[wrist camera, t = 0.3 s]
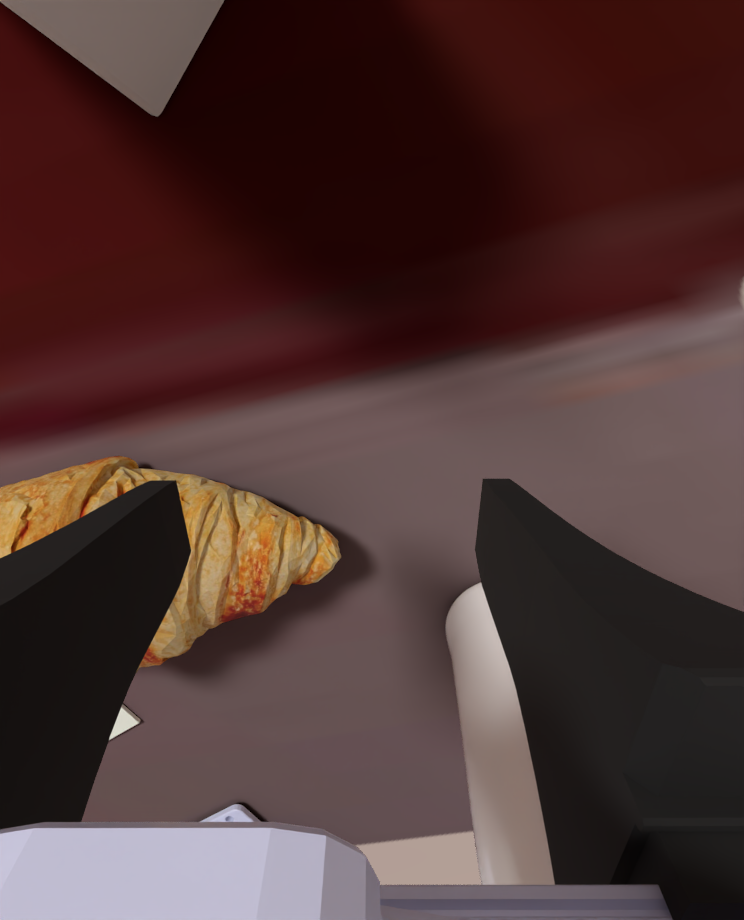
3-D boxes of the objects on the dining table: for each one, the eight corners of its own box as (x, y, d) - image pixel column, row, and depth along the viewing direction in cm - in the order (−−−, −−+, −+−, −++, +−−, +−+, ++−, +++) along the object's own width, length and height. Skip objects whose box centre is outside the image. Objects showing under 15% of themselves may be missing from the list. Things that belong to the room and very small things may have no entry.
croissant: (334, 447, 25) (317, 413, 17) (355, 650, 24) (349, 711, 16) (-84, 495, 25) (-294, 482, 17) (-84, 704, 24) (-311, 794, 16)
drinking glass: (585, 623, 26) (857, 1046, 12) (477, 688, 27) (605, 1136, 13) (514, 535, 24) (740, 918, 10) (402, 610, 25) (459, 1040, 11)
